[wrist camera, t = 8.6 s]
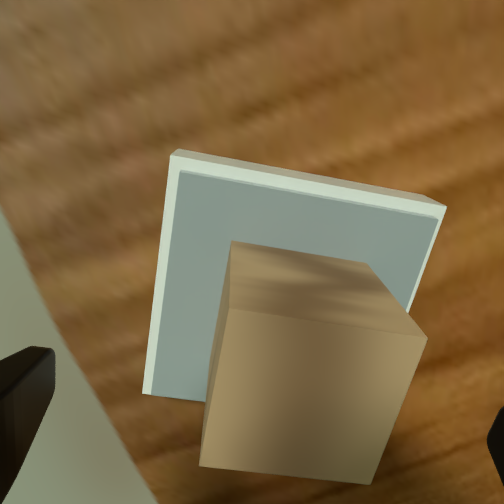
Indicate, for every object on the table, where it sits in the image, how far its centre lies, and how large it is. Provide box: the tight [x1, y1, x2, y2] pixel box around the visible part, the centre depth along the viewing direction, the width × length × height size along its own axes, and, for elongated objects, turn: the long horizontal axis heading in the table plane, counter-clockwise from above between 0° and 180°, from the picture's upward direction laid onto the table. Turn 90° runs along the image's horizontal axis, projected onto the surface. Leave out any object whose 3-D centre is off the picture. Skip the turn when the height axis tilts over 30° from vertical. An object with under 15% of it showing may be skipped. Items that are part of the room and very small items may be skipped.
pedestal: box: [142, 149, 447, 402], centre depth 20 cm, size 12×12×3 cm
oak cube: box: [199, 240, 428, 485], centre depth 15 cm, size 6×6×6 cm
